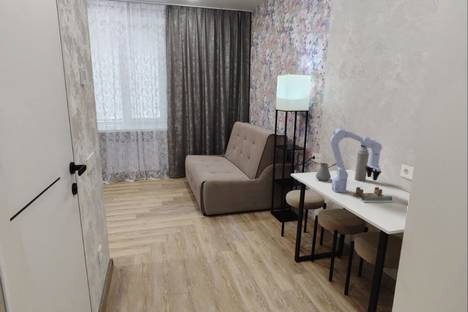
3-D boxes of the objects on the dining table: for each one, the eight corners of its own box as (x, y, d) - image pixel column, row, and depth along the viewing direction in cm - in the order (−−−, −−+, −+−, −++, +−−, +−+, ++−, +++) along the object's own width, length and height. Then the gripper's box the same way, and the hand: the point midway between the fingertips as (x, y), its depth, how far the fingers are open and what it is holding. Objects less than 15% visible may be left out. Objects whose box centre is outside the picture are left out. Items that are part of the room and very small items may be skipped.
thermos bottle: (366, 179, 235) (370, 145, 228) (364, 182, 228) (369, 146, 222) (355, 177, 239) (359, 143, 232) (353, 180, 232) (357, 145, 226)
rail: (363, 200, 189) (363, 197, 189) (361, 198, 192) (361, 196, 191) (391, 200, 191) (392, 197, 190) (389, 198, 193) (390, 195, 192)
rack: (356, 197, 197) (357, 189, 195) (353, 194, 201) (353, 187, 200) (383, 197, 198) (384, 189, 196) (379, 194, 203) (380, 187, 201)
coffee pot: (318, 182, 226) (320, 163, 223) (313, 177, 237) (314, 159, 234) (345, 181, 229) (347, 162, 225) (338, 177, 240) (340, 159, 236)
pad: (364, 202, 187) (364, 201, 187) (358, 198, 194) (359, 197, 194) (394, 202, 189) (394, 201, 188) (388, 198, 195) (388, 197, 195)
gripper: (386, 162, 193) (383, 181, 196) (374, 157, 207) (372, 175, 210) (375, 162, 192) (373, 181, 195) (364, 156, 206) (362, 175, 210)
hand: (371, 178), depth 203 cm, fingers open, 7 cm apart
